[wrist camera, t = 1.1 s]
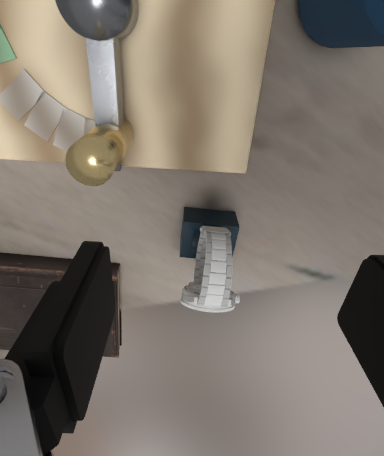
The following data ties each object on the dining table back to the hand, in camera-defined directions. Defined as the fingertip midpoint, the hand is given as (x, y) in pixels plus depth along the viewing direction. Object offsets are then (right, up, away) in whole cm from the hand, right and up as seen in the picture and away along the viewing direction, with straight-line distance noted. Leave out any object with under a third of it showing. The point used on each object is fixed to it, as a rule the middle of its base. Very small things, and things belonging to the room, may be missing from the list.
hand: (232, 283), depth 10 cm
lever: (-8, +14, +13) cm, 21 cm away
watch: (0, +2, +22) cm, 23 cm away
